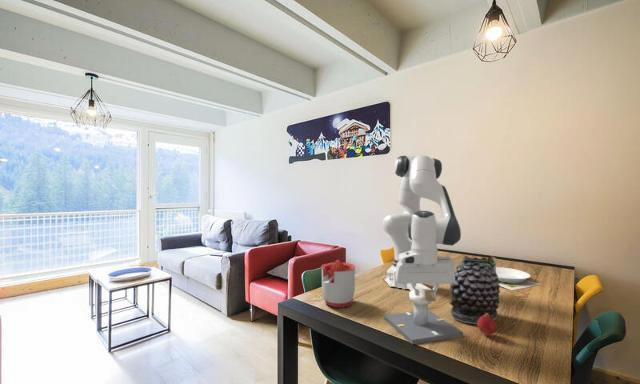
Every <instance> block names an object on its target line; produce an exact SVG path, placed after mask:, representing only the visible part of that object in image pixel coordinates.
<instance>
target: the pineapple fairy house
mask: <svg viewBox="0 0 640 384" xmlns="http://www.w3.org/2000/svg"><path fill="white" fill-rule="evenodd" d="M462 258H463V259H462V261H460V262H459V263H458V265H456V269H454V274H455V282H454V283H453V284H450V285H449V287H448V288H449V289H450V290H451V295H452V297H451V299H449V300H448V304H449V305H450V306H452V308H451V309H450V313H451V314H452V315H451V316H452V317H453V319H455V320H457V321H459V322H461V323H467V324H474V325H477V322H478V319H479V318H480V317H481V316H483V315H484V314H486V313H488V315H489V316H490V317H491V318H492V319H493V320H494V321H496V319H497V317H498V311H497V310H498V308H499V304H500V301H499V300H500V299H501V298H500V293H501V290H500V288H501V285H500V282H499V279H498V275H497V274H496V267H497V263H498V261H499V260H498V259H497V258H496V257H494V256H492V255H491V256H489V257H488V258H487V257H484V256H481V258H478V257H474V255H473V256H472V258H471V257H468V256H467V255H464V256H463V257H462Z"/></svg>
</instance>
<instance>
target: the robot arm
mask: <svg viewBox="0 0 640 384" xmlns="http://www.w3.org/2000/svg"><path fill="white" fill-rule="evenodd" d="M442 164H443V163H442V161H441V160H440V159H437V158H435V157H433V158H431V157H429V156H428V155H419V156H417V155H416V156H415V155H414V156H413V155H399V156H398V157H397V159H396V160H395V162H394V165H393V168H394V174H395V175H396V176H398V177H400V178H401V180H400V181H401V182H400V184H399V185H400V186H399V192H398V196H397V197H398V199H397V201H398V203H399V205H400V206H401V207H402V208H403V212H402V213H401V212H400V213H391V214H389V215H386V216H384V217H383V220H382V228H383V230H384V232H385V233H387V234H388V235H389V237H390V239H391V240H392V243H393V251H394V258H393V259H392V265H391V266H390V267H389V268H388V269H386V270H387V271H386V272H385V274H386V276H385V277H387V278H386V279H385V281H386V282H387V283H388V285H389V286H393V287H398V288H402V289H401V290H405V289H408V288H407V283H411V285H412V287H413V289H414V294H415V296H420V294H419V293H420V291H419V290H418V289H416V288H415V286H416V283H420V284H423V285H425V284H426V285H427V284H429V285H430V284H433V287H432V288H431V289H432V290H433V291H435V292H436V293H437V291H438V289H439V287H440V284H441V285H442V284H447V285H448V284H449V285H451V284H453V283H454V282H455V274H454V271H455V269H454V268H455V260H454V259H453V258H452V257H450V256H438V246H437V245H444V246H454V245H456V244H457V243H458V242H460V241H461V237H462V229H461V226H460V224H459V221H458V219H457V217H456V214H455V211H454V208H453V205H452V202H451V199H450V195H449V193H448V190H447V188H446V186H445V185H443V184H441V183H440V182H439V181H438V179H439V178H440V176H441V174H442V172H443V165H442ZM421 198H422V199H427V200H429V201H432V202H435V203H437V204H438V206H439V207H440V210H441V215H442V218H436V215H435V213H434V212H433V211H430V210H421ZM388 285H387V286H388ZM389 286H388V287H389ZM398 288H397V289H398Z"/></svg>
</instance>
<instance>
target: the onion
mask: <svg viewBox="0 0 640 384" xmlns="http://www.w3.org/2000/svg"><path fill="white" fill-rule="evenodd" d="M495 321H496V320H493V319H492V318H491V317H490V316H489V315H488V313H486V314H484V315H483V316H481V317H480V318H479V319H478V322H477V324H476V326H477V328H478V330H479V331H480V332H481V333H482V334H483V335H484V336H485V337H490V336H492V335H493V334H495V333H496V331H497V328H498V327H497V326H498V325H497V323H496V322H495Z"/></svg>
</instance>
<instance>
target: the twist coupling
mask: <svg viewBox="0 0 640 384" xmlns="http://www.w3.org/2000/svg"><path fill="white" fill-rule="evenodd" d="M407 288H408V289H409V290H410V291H409V292H408V293H409V294H408V295H409V298H408V300H409V302H410V303H412V304H414V303H415V304H419V305H428V306H429V305H431V304H432V303H433V302H436V301H437V297H436V296H437V291H436V292H435V291H433V290H432V289H433V288H430V287H428V286H426V285H425V284H420V283H416V286H415V288H416V289H418V290H419V291H420V293H419V294H420V296H415V294H414V289H413V287H412V285H411V283H407Z"/></svg>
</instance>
